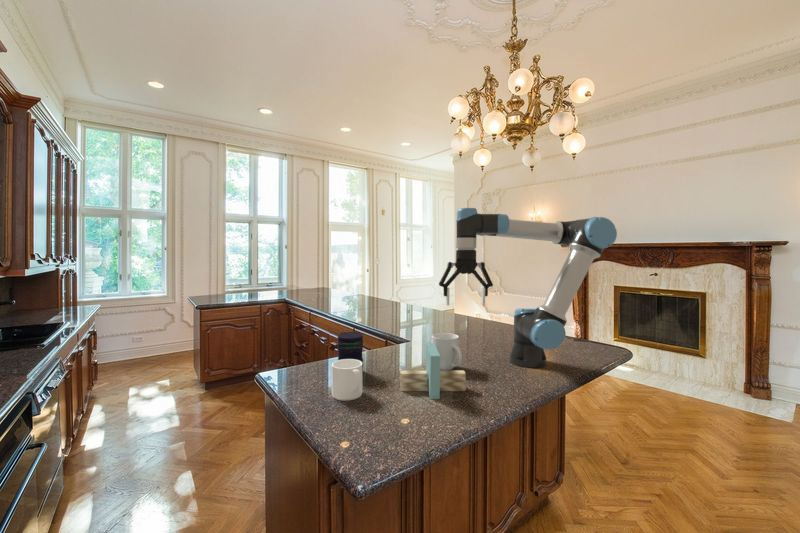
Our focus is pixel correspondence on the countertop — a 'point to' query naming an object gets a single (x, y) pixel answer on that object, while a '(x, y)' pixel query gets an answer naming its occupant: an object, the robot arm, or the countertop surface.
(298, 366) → the countertop surface
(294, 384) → the countertop surface
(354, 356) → the storage jar
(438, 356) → the pale teal block
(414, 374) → the notched wooden beam
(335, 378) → the mug
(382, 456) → the countertop surface
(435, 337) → the mug
